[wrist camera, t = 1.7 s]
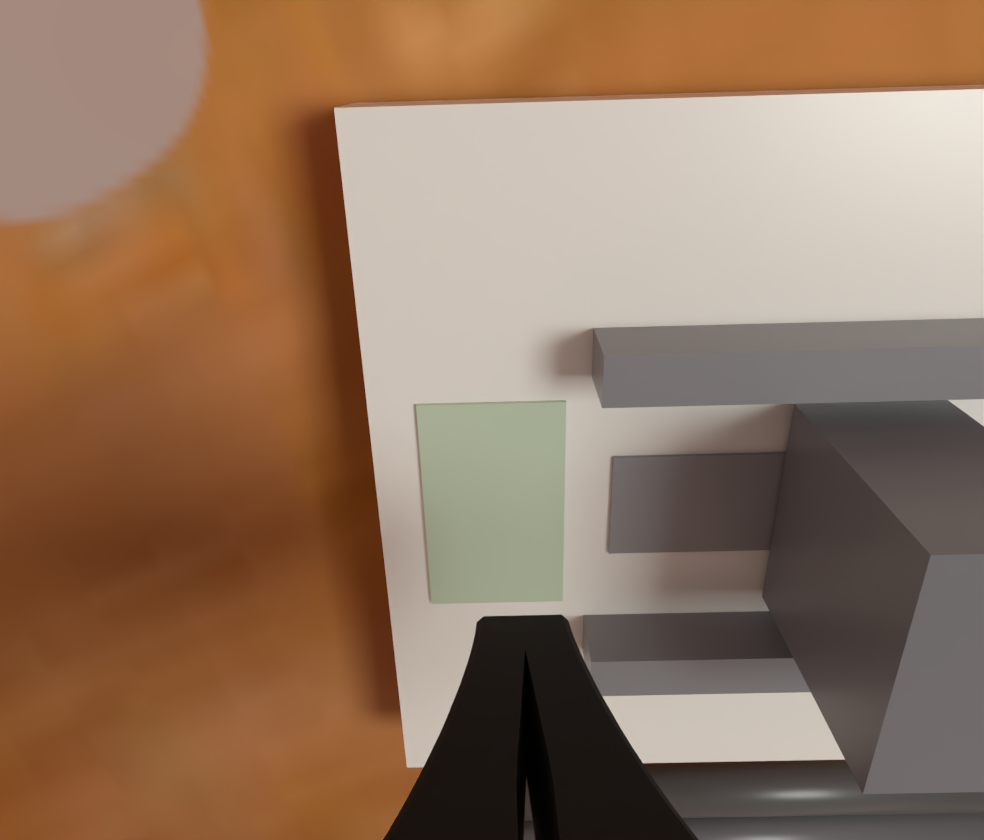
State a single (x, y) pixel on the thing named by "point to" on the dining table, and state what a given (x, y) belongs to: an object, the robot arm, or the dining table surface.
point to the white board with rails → (652, 396)
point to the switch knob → (887, 586)
